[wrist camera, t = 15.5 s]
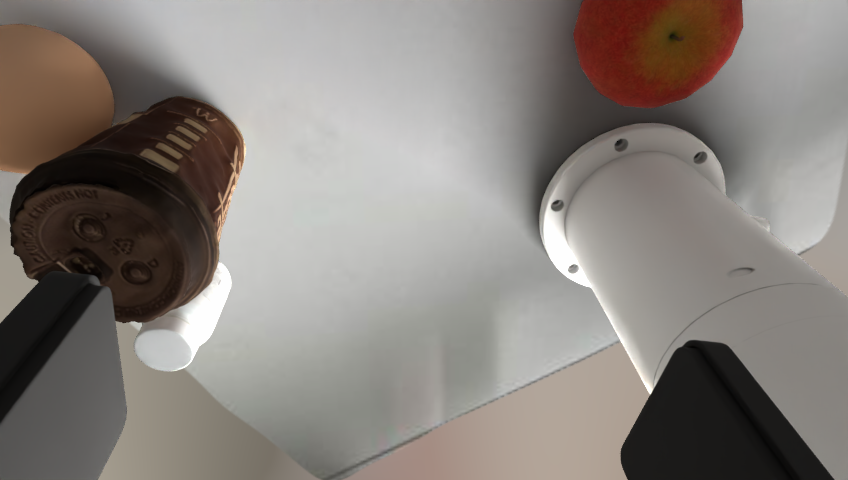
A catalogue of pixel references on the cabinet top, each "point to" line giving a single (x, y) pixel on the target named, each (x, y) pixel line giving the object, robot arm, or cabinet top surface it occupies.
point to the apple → (655, 46)
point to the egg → (47, 97)
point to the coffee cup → (135, 207)
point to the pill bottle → (183, 327)
